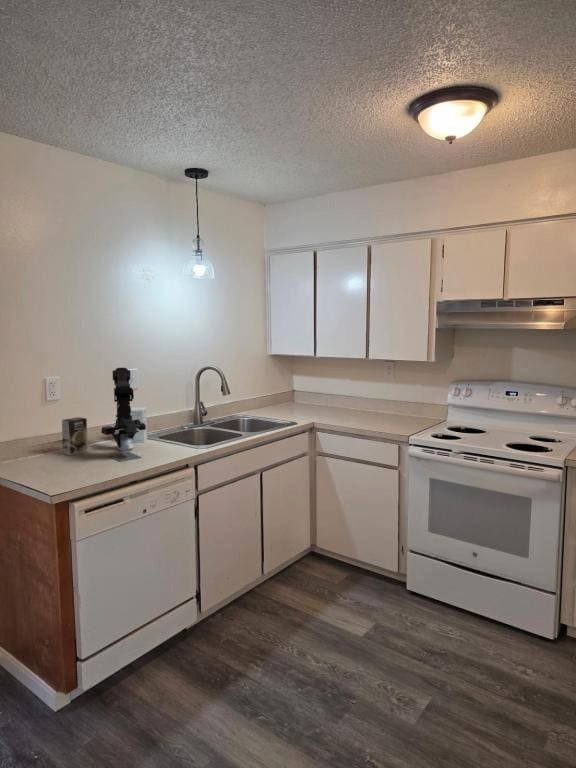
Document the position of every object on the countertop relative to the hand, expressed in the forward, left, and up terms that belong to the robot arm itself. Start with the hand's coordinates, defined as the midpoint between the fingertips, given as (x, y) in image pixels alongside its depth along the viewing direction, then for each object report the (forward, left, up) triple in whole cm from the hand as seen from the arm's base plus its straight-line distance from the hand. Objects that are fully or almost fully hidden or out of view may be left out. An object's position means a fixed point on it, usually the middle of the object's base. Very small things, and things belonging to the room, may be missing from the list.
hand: (124, 446), depth 228 cm
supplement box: (-27, +19, -5) cm, 33 cm away
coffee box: (-22, -14, -5) cm, 26 cm away
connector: (+1, 0, -1) cm, 2 cm away
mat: (0, 0, -5) cm, 5 cm away
